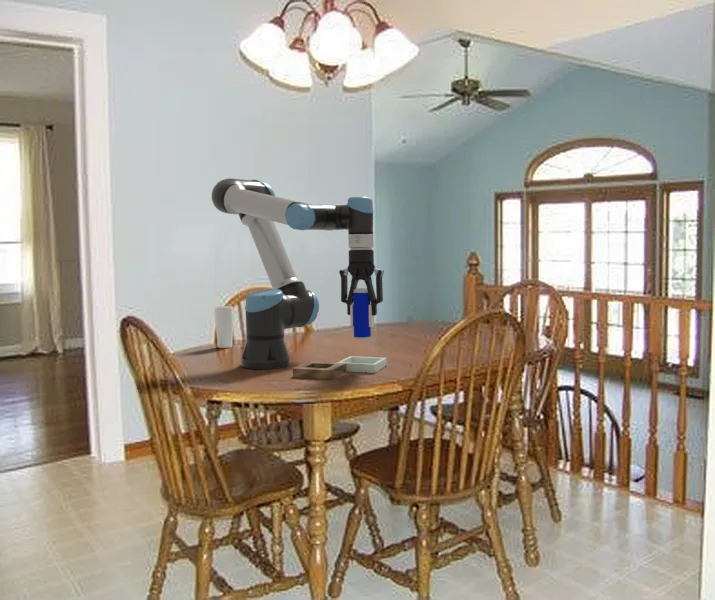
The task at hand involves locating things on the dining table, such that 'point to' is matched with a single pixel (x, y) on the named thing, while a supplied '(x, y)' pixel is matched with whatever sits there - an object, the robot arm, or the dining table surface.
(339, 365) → the socket block
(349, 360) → the tray
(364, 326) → the beverage can
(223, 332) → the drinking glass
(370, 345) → the dining table surface
